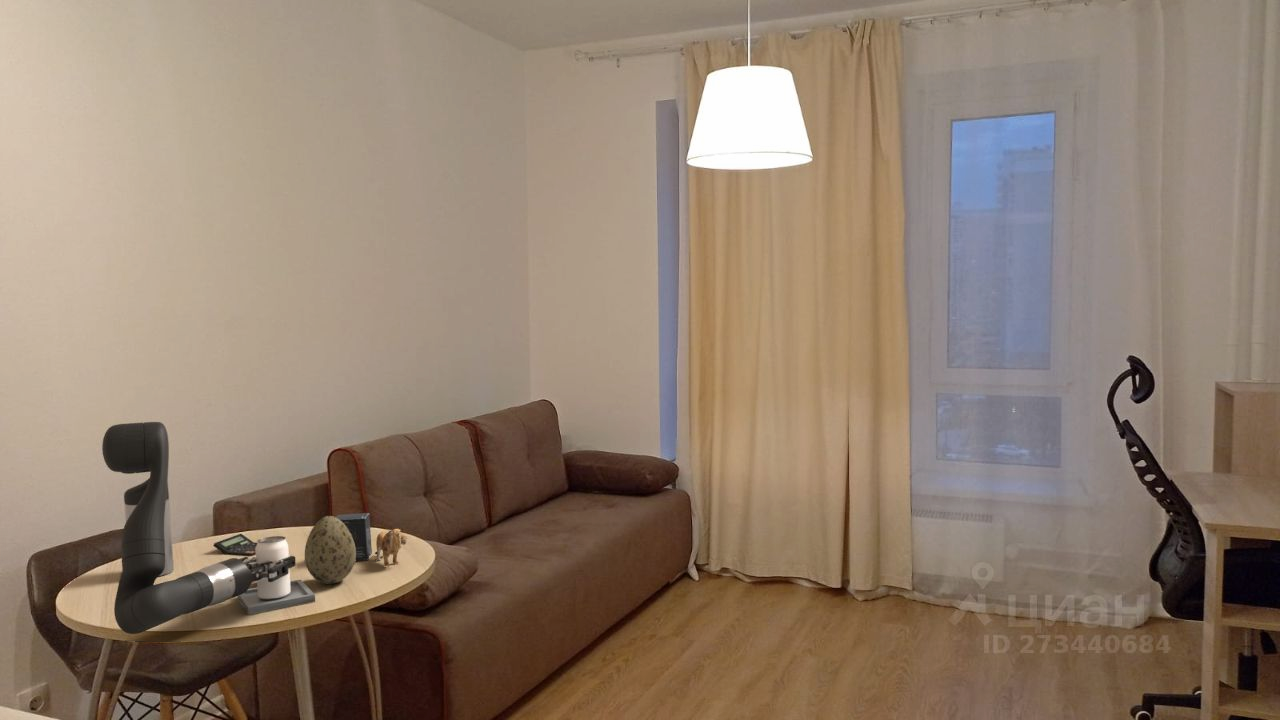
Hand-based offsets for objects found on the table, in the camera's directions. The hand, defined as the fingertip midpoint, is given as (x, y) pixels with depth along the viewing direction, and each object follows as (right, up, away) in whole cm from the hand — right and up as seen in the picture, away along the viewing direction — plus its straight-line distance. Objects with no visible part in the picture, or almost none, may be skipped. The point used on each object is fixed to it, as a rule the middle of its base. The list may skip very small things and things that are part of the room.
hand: (282, 559), depth 196 cm
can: (-1, -7, -2) cm, 8 cm away
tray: (-1, -8, -2) cm, 8 cm away
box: (+6, -6, +28) cm, 29 cm away
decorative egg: (+8, -7, +9) cm, 14 cm away
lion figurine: (+16, -6, +24) cm, 30 cm away
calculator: (-24, -6, +39) cm, 46 cm away
